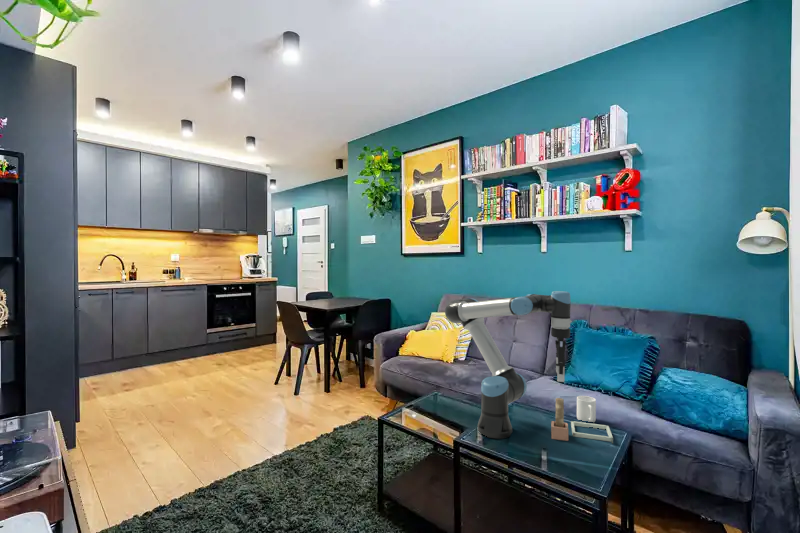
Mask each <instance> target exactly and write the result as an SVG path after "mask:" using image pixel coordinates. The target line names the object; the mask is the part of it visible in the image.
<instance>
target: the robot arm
mask: <svg viewBox="0 0 800 533" xmlns="http://www.w3.org/2000/svg"><path fill="white" fill-rule="evenodd" d="M571 304H572V301H571V293H570V292H569V291H566V290H565V291H562V290H555V291H554V290H553V291H552V292H551V294H550V295H547V294H537V293H528V294H526V295H524V296H516V297H508V298H498V299H491V300H480V301H479V300H477V299H475V298H464V299H454V300H451V301H449V302H448V303H447V304H446V306H445V309H444V314H445V318H446V319H447V320H448V321H449V322H450V323H453V324H461V325H462V327H463V329H464V330H467V331H468V333H469V334H470V335H471V337H472V339H473V341H474V343H475V345H476V346H477V349H478V351H479V352H480V353H481V356H482V357H483V359H484V361H485V363H486V365H487V367H488V369H489V371H490V372H491V376H487V377H485V378H484V379H482V380H481V387H480V391H481V398H480V400H481V404H480V405H481V406H480V407H481V408H480V409H481V411H480V412H481V413H480V417H479V418H478V423H477V432H478V431H479V432H480V433H481V434H483V435H485V436H484V437H486V436H487V437H486V438H490V439H496V440H497V439H498V440H499V439H507V438H509V437H511V435H512V433H513V426H512V422H511V420H510V417H509V404H511V403H513V402H515V401H518V400H520V399H521V398H523V397H524V395H525V394H526V392H527V385H528V384H527V381H526V379H525V378H524V376H523V375H522V374H519V373H518V372H516V370H515V368H514V366H513V367H512V366H511V365H509V364H508V362H507V361H506V359H505V358H504V355H503V354H502V353H501V350H500V349H499V347H498V345H497V343H496V342H495V340H494V338H493V337H492V335H491V332H490V331H489V329H488V328H487V325H486V324H485V322H484V321H485V318H493V317H494V318H497V317H508V316H526V315H530V314H534V313H550V314H551V317H550V320H551V323H550V325H551V330H550V335H551V337H553V338H556V340H555V342H554V343H555V348H556V350H555V351H556V352H555V355H556V356H555V360H556V361H555V373H556V375H557V379H556V381H557V382H559V383H564V382H565V371H566V370H565V367H566V361H565V359H566V358H565V352H566V347H567V346H566V345H567V343H566V340H565V339H569V338H570V337H571V329H570V328H571V323H572V322H573V321H572V320H571ZM479 432H478V433H479ZM480 433H479V434H480ZM481 434H480V435H481ZM483 435H482V436H483Z"/></svg>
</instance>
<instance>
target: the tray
mask: <svg viewBox="0 0 800 533" xmlns="http://www.w3.org/2000/svg"><path fill="white" fill-rule="evenodd" d="M570 426H571V433H572V437H576V438H583V439H589V440H595V441H596V440H597V441H604V442H610V443H611V444H612V445H614V437H613V435H612V431H611V429H610V426H609V425H606V424H597V423H586V422H582V421H575V420H574V421H573V420H571V421H570ZM575 427H583V428H589V427H593V428H592V429H597V428H599V429H598V430H605V429H606V430H605V431H606V433H607V436H606V435H600V434H592V433H586V432H585V433H584V432H577V431H576V428H575Z"/></svg>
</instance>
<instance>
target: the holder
mask: <svg viewBox="0 0 800 533" xmlns="http://www.w3.org/2000/svg"><path fill="white" fill-rule="evenodd" d="M550 425H551V429H550V433H551V440H556V441H557V440H558V441H566V442H568V441H569V424H568V423H567V422H564V428H563V427H556V420H555V421H554V420H551V421H550Z"/></svg>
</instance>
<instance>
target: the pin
mask: <svg viewBox="0 0 800 533" xmlns="http://www.w3.org/2000/svg"><path fill="white" fill-rule="evenodd" d="M564 404H565V402H564V398H562V397H557V398H555V422H556V427H563V428H564V423H565V418H564V416H565V412H564V411H565V410H564V409H565V406H564Z"/></svg>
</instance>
